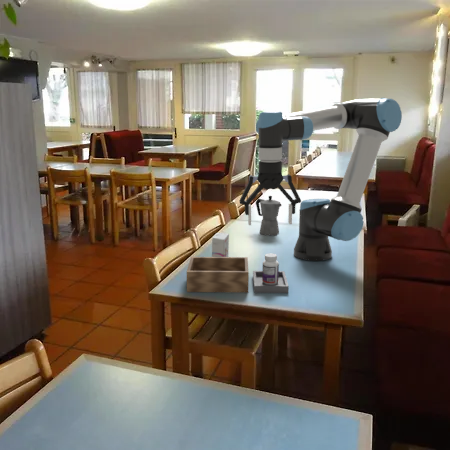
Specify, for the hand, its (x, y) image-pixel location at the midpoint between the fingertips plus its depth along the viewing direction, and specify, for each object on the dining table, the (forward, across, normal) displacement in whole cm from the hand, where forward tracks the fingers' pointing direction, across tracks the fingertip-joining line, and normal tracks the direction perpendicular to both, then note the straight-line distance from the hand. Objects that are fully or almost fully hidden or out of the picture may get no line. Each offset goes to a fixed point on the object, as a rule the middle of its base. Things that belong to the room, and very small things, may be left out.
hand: (269, 223), depth 154 cm
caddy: (+20, +18, +3) cm, 27 cm away
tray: (+20, 0, +4) cm, 21 cm away
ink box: (+20, +17, -16) cm, 31 cm away
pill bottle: (+20, 0, +4) cm, 20 cm away
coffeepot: (+22, -6, -62) cm, 66 cm away
